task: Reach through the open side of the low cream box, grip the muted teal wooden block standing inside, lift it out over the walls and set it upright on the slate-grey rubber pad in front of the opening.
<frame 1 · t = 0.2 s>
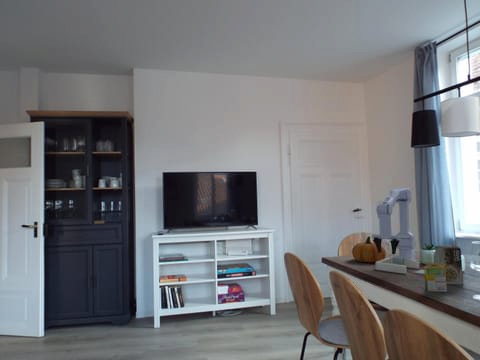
hand: (386, 253, 173), 10 cm above the table, tool pointing down, fingers open, 7 cm apart
open side box: (399, 269, 180), on the table
crayon box: (436, 291, 138), on the table
coffee box: (449, 283, 150), on the table
pumpkin: (369, 261, 205), on the table
grey pad: (427, 272, 169), on the table
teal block: (398, 263, 180), in the open side box
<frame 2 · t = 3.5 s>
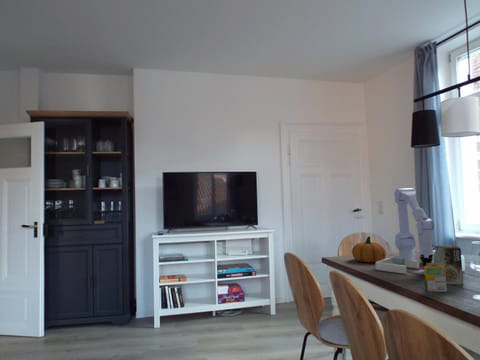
hand: (427, 269, 169), 2 cm above the table, tool pointing down, fingers open, 7 cm apart
nothing on the table moved.
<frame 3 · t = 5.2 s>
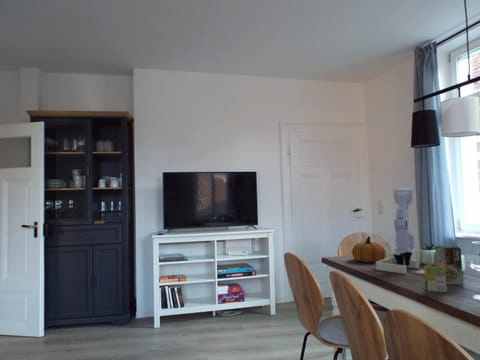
hand: (403, 266, 178), 2 cm above the table, tool pointing down, fingers open, 7 cm apart
nothing on the table moved.
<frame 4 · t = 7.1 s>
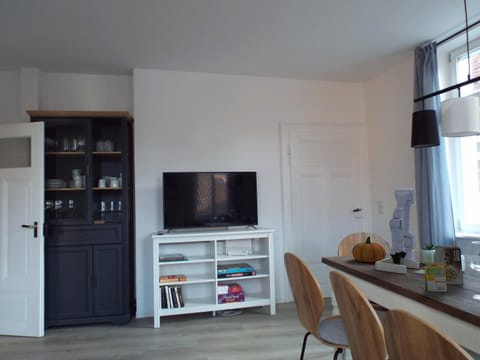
hand: (399, 266, 180), 2 cm above the table, tool pointing down, fingers closed on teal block, 4 cm apart
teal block: (398, 263, 180), in the open side box, touching gripper
everything else where it was.
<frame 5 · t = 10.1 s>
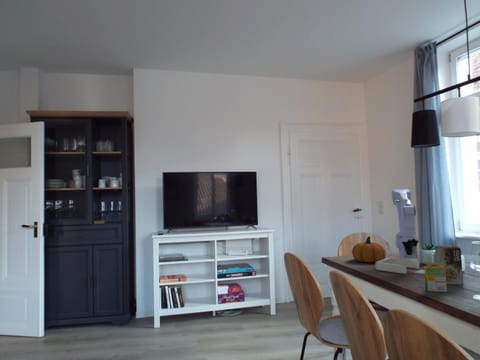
hand: (410, 254, 175), 9 cm above the table, tool pointing down, fingers closed on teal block, 4 cm apart
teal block: (410, 252, 176), point 10 cm above the table, touching gripper
everything else where it was.
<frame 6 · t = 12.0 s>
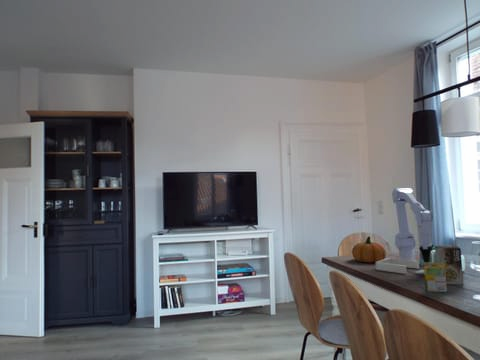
hand: (426, 261, 170), 6 cm above the table, tool pointing down, fingers closed on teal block, 4 cm apart
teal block: (425, 259, 170), point 7 cm above the table, touching gripper
everything else where it was.
when the fingers open (3 cm above the table, at t = 13.3 s): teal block drops 1 cm, resting on grey pad.
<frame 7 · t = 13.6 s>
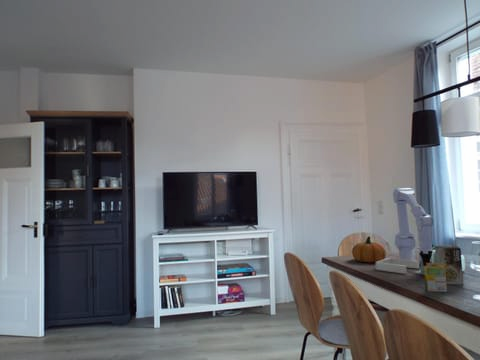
hand: (426, 266, 170), 4 cm above the table, tool pointing down, fingers open, 6 cm apart
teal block: (426, 266, 170), on the grey pad
everything else where it was.
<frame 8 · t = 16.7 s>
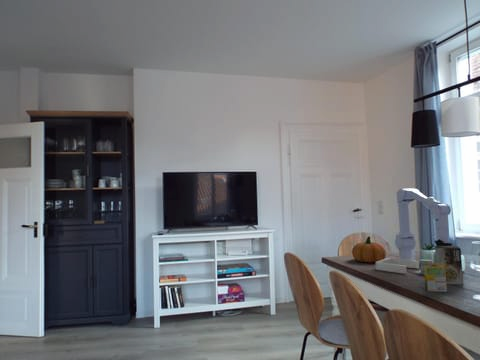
hand: (443, 256, 164), 9 cm above the table, tool pointing down, fingers open, 7 cm apart
nothing on the table moved.
at the end: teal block inside the target area (0.2 cm from its centre), resting on grey pad; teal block tilted 0°; the gripper is holding nothing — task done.
